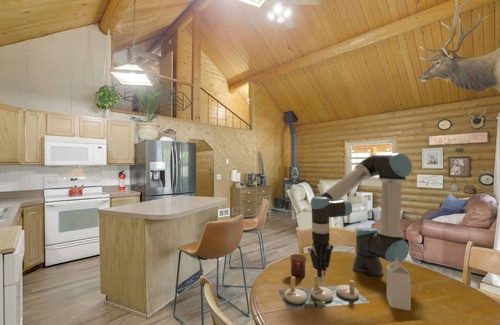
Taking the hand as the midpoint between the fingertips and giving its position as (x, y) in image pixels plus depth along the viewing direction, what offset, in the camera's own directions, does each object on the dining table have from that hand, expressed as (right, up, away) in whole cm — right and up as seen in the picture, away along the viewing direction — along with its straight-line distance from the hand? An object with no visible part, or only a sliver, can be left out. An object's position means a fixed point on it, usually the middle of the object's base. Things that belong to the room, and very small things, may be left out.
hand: (321, 283), depth 108 cm
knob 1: (-13, -3, -6) cm, 14 cm away
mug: (-7, -5, +15) cm, 18 cm away
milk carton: (+29, -5, -10) cm, 31 cm away
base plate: (-1, -5, -4) cm, 6 cm away
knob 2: (+11, -4, -2) cm, 12 cm away
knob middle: (-1, -3, -4) cm, 5 cm away
